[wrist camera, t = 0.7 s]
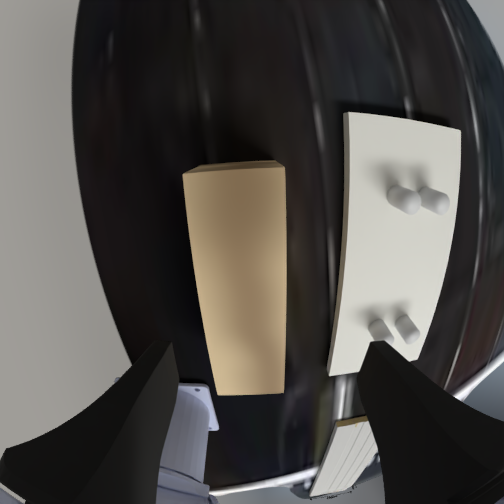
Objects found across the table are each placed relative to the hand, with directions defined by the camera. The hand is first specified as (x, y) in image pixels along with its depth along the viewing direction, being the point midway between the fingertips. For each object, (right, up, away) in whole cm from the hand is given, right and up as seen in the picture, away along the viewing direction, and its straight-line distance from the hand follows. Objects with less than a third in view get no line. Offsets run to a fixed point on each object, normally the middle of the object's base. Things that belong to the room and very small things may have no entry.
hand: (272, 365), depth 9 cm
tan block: (-1, +3, +9) cm, 10 cm away
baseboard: (+15, -28, +23) cm, 39 cm away
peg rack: (+10, +3, +9) cm, 14 cm away
